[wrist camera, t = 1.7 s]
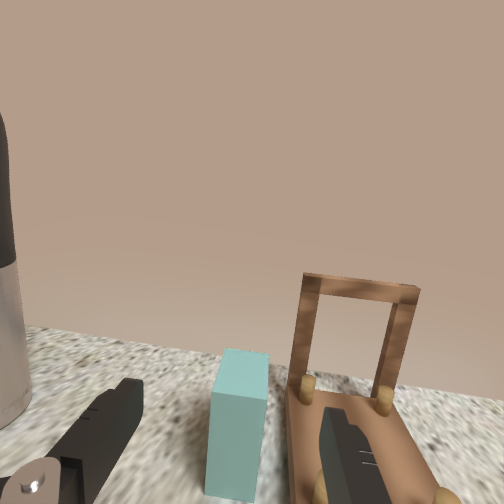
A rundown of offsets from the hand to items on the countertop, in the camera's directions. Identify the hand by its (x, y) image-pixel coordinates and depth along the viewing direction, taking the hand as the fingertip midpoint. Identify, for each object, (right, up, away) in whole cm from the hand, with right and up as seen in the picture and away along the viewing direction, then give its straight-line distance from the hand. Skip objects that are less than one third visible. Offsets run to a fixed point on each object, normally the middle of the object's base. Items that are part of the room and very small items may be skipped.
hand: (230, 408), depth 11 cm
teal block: (-1, -15, +15) cm, 21 cm away
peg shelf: (+11, -16, +15) cm, 24 cm away
